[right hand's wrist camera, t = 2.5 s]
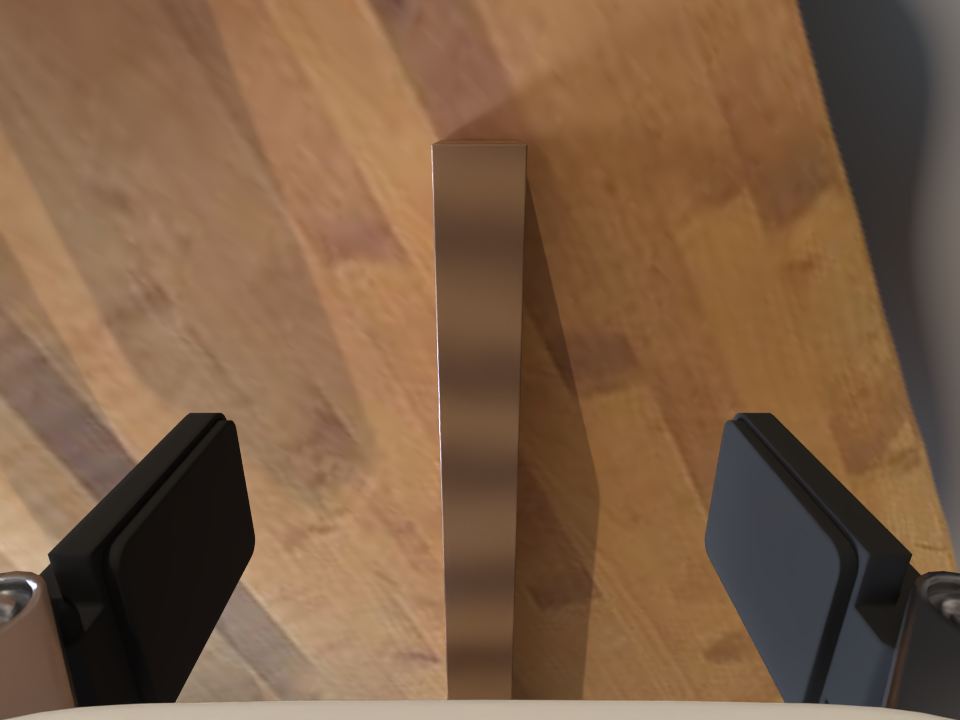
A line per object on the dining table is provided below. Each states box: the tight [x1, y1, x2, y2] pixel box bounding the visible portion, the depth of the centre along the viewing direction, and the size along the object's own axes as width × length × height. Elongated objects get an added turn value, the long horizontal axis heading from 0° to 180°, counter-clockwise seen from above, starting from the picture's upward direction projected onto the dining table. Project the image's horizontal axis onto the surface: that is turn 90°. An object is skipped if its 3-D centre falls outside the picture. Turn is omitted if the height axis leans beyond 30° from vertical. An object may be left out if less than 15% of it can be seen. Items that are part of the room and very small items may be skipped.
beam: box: [431, 140, 527, 700], centre depth 41 cm, size 53×5×6 cm, turn 0°
